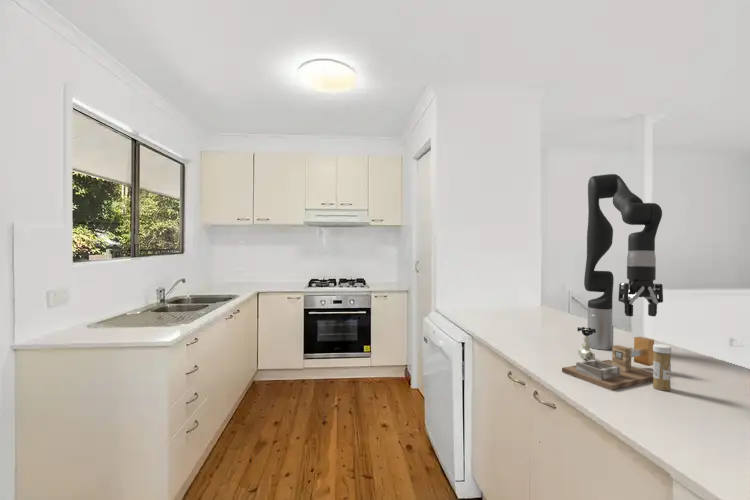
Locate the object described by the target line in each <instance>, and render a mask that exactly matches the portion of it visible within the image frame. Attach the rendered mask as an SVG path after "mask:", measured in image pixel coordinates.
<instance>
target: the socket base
mask: <svg viewBox="0 0 750 500" xmlns="http://www.w3.org/2000/svg"><path fill="white" fill-rule="evenodd" d="M631 349H632V348H631V347H627V346H625V345H620V344H616V345H613V348H612V349H611V350H612V351H611V352H612V353H611V354H612V359H611V360H610V359H607V360H606V359H605V360H598V359H594V360H583V361H578V362H575V364H576V365H572V366H571V365H569V366H565V367H561V373H564V374H567V375H569V376H571V377H574V378H577V379H580V380H582V381H585V382H588V383H590V384H593V385H596V386H598V387H602V388H604V389H607V390H609V391H615V390H619V389H624V388H628V387H633V386H637V385H642V384H646V383H651V382H652V383H653V380H654V379H653V378H654V377H653V371H652V372H651V371H649V370H644V369H642V368H638V367H634V366H632V357H631ZM617 351H619V352H622V353H623V359H620V358H616V352H617Z"/></svg>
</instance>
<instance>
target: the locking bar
mask: <svg viewBox="0 0 750 500" xmlns="http://www.w3.org/2000/svg"><path fill="white" fill-rule="evenodd" d="M633 339H634V340H633V341H634V342H633V348H631V358H633V362H634V363H636V364H640V365H644V366H647V367H651V366H653V360H654V352H653V345H654V344H655V339H652V338H648V337H644V336H643V337H642V336H635V337H633ZM616 358H620V359H623V353H622V352H619V351H617V352H616Z"/></svg>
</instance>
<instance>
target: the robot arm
mask: <svg viewBox="0 0 750 500" xmlns="http://www.w3.org/2000/svg"><path fill="white" fill-rule="evenodd" d="M611 198H612V204H613V206H614V207H615V209H616V210H617V211H619V212H620V215H621V219H622V221H623V223H625V224H627V225H631V226H644V228H643V229H642V230H641V231H636V232H632V233H629V234H628V238H627V256H626V261H627V262H626V279H627V280H628V283H626V282H620V283H619V284H618V302H620V303H623V304H624V314H625V315H624V316H627V317H633V316H634V305H633V303H634V302H635V301H636V300H637V299H638V298H644V299H646V301H647V302H648V305H647V307H648V308H647V310H648V311H647V314H648V316H649V317H657V313H658V311H657V310H658V305H659V303H664V293H663V292H664V289H663V284H662V283H654V281H656V279H657V277H656V273H657V271H656V269H657V268H656V267H657V266H656V265H657V264H656V263H657V261H656V252H655V251H656V242H655V241H656V235H657V232H658V228H659V226H660V223H661V220H662V219H663V218H662V217H663V210H662V207H661V206H660V205H659V204H657V203H656V202H644V201H643V199H642V198H641V197H639V196H638V195H636V194H635V193H634V192H632V191H631V190H630V188H629V187H628V185H627V184H626V183H625V181H624V180H623V178H622V177H621V176H619V175H618V174H616V173H609V174H600V175H599V174H598V175H593V176H590V177H589V180H588V184H587V203H588V205H587V207H588V213H587V214H588V218H587V230H586V232H587V233H586V262H585V268H584V279H583V281H584V282H583V285H584V289H585V291H587V292H589V293H590V292H593V293H603V294H602V295H600V296H598V297H596V298H591V299H590V300H588V301H587V328H591V329H596V333H593V334H592V335H589V336H588V338H589V342H588V343H589V345H591V348H590V349H595V350H596V349H597V350H605V351H606V350H607V351H608V350H612V349H613V346H614V325H613V299H614V298H613V295H614V280H615V279H614V278H615V277H614V274H613V272H612V271H610V270H609V271H608V270H595V269H596V266H597V264H598V262H599V261H601V258H602V257H604V255H606V253H607V252H608V251H609V250H610V248H611V247H612V245H613V238H614V228H613V226H612V224H611V223H610V220H608V218H607V216H606V215H605V214H604V213H603V211H602V209H601V206H600V199H601V200H602V199H611Z"/></svg>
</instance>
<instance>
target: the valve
mask: <svg viewBox="0 0 750 500" xmlns="http://www.w3.org/2000/svg"><path fill="white" fill-rule="evenodd" d="M576 329H577V332H580V331H581V334H582V335H583V336H584V337H583V343H581V347H580V348H578V349H577V352H578V353H577V354H578V355H579V356H580V357H581V358H582V359H583V360H584V361H588V360H594V359H595V358H596V357H595V356H596V355H595V353H593V352H592V350H590V349H592V348H591V345H589V343H588V342H589V338H588V336H589V335H592V334H593V333H596V329H591V328H588V327H585V326H582V327H577V328H576ZM595 360H596V359H595Z"/></svg>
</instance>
